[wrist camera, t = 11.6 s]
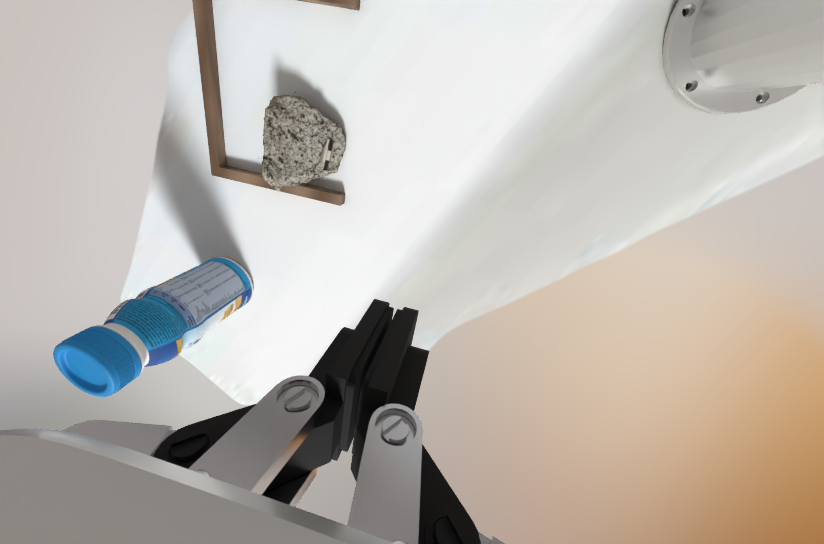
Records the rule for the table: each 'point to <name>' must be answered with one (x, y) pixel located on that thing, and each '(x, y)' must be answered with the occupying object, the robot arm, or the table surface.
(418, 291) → the table surface
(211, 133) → the frame
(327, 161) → the rock sample
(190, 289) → the beverage bottle
